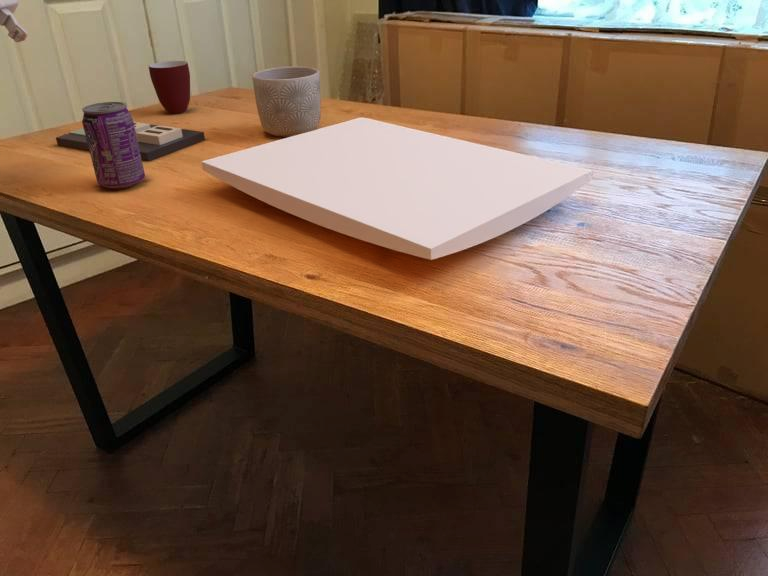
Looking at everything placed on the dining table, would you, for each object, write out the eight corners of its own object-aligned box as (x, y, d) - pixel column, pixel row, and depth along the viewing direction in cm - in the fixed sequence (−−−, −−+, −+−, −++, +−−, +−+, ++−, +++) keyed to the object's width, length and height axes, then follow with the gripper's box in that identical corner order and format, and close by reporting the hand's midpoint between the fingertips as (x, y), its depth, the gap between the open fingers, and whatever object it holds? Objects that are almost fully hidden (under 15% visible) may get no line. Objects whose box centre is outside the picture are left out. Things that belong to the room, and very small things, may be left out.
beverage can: (105, 177, 106) (87, 102, 100) (150, 174, 107) (134, 99, 101) (92, 193, 100) (72, 113, 94) (140, 190, 100) (122, 110, 95)
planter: (272, 122, 133) (266, 66, 128) (331, 123, 131) (327, 66, 126) (249, 139, 123) (241, 79, 117) (313, 141, 120) (307, 80, 115)
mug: (161, 106, 149) (152, 60, 144) (198, 103, 150) (190, 57, 145) (155, 117, 140) (145, 69, 135) (194, 114, 141) (186, 66, 136)
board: (589, 203, 90) (593, 170, 87) (431, 288, 70) (431, 248, 68) (363, 143, 118) (361, 117, 116) (206, 191, 99) (201, 161, 96)
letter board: (57, 145, 124) (52, 128, 122) (117, 126, 134) (113, 110, 133) (148, 161, 113) (144, 142, 112) (205, 139, 124) (202, 122, 122)
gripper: (-138, -46, 80) (-36, 38, 83) (-28, -52, 98) (53, 17, 101) (-155, -4, 83) (-56, 75, 86) (-45, -18, 100) (34, 48, 104)
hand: (3, 43), depth 94 cm, fingers open, 8 cm apart
